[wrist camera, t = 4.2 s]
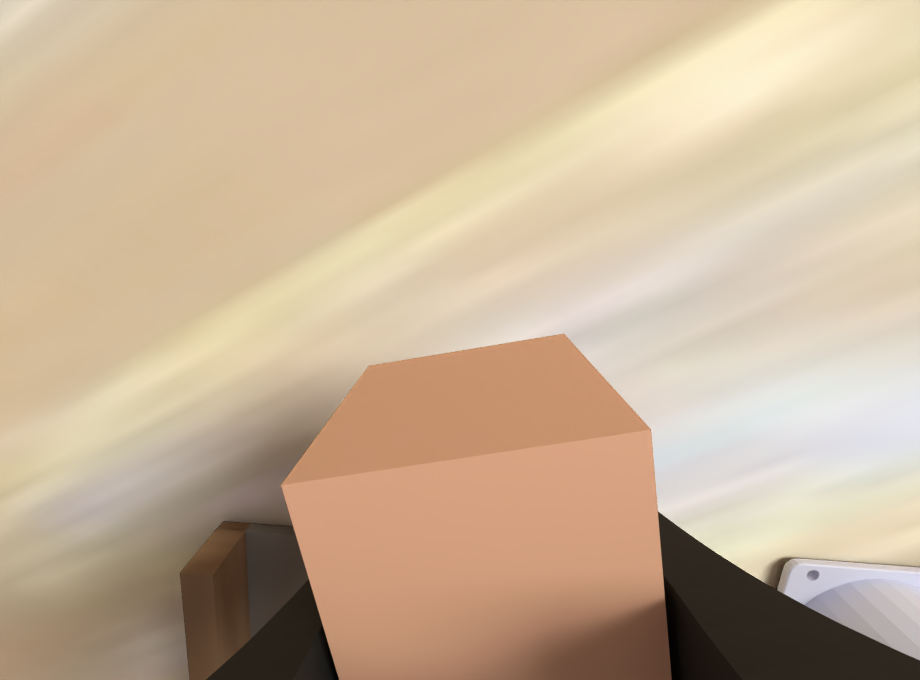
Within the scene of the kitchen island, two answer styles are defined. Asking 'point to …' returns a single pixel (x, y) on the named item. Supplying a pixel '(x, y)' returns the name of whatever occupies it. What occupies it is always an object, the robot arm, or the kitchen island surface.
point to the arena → (236, 589)
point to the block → (485, 522)
